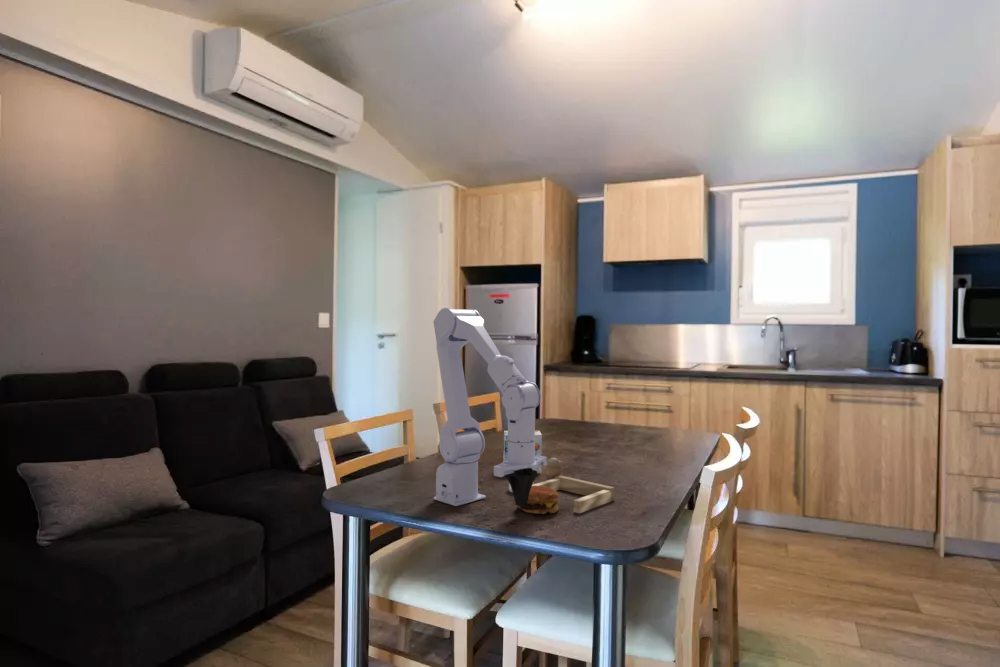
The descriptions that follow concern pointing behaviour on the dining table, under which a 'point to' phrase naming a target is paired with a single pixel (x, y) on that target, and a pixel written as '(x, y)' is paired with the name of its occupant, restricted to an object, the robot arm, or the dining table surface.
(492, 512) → the dining table surface
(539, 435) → the light bulb box
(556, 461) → the pepper mill
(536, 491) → the burger
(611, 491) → the bay
